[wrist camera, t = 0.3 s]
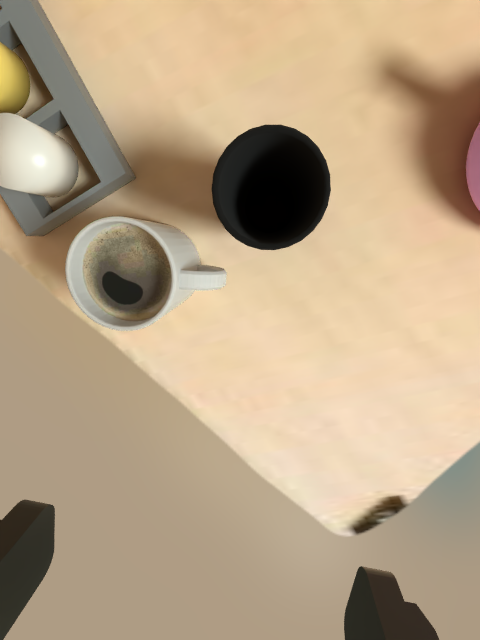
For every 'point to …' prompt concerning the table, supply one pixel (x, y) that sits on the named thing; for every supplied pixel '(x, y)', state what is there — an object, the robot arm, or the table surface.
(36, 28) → the grey compartment tray
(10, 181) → the offwhite button
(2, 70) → the mustard button
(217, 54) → the table surface
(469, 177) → the teapot
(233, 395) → the table surface
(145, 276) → the mug
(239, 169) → the cup
